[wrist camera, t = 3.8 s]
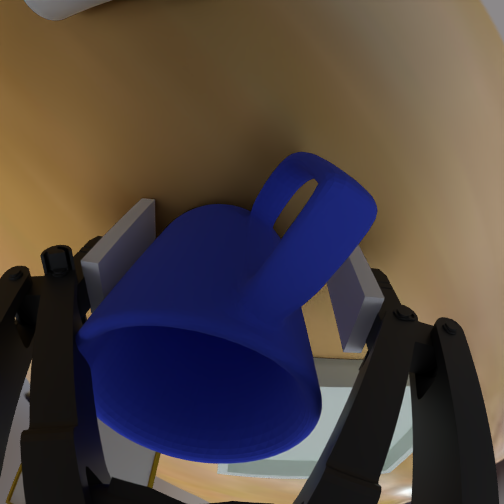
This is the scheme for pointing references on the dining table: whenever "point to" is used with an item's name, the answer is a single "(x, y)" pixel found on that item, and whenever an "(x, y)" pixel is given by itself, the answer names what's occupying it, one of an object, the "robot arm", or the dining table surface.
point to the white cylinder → (61, 7)
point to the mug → (225, 322)
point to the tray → (328, 428)
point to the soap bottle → (110, 462)
